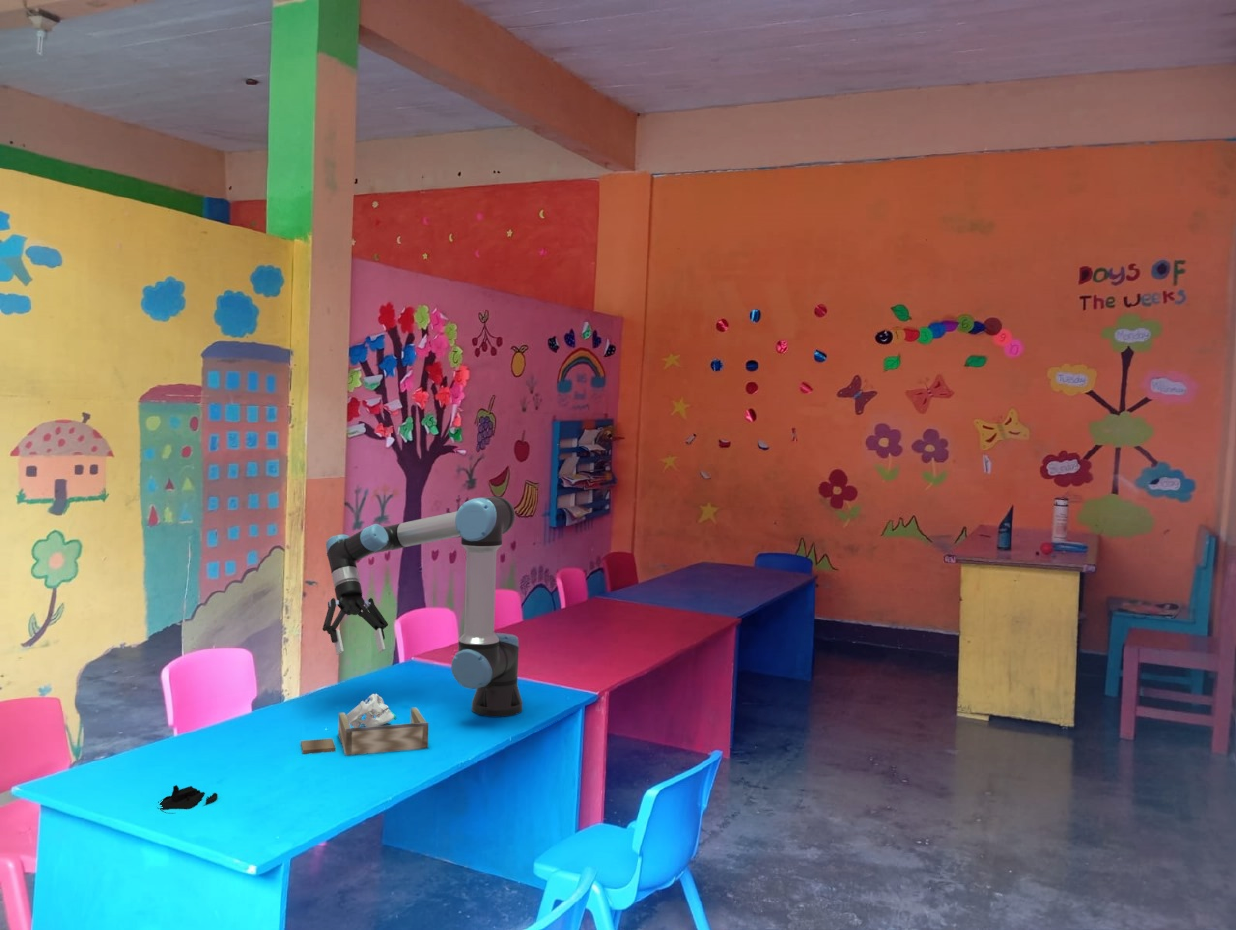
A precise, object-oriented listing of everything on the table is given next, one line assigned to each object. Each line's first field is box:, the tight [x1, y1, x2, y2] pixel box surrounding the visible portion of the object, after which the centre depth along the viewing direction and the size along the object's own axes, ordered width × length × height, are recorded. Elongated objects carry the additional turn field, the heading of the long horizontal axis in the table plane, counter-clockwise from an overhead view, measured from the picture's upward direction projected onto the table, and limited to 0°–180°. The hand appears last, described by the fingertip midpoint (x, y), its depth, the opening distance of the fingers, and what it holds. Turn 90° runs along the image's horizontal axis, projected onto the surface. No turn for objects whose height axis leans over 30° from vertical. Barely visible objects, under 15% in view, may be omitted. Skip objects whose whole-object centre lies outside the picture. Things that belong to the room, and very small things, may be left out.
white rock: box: [345, 692, 398, 728], centre depth 278 cm, size 12×9×10 cm
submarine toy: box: [157, 784, 218, 815], centre depth 219 cm, size 12×10×5 cm
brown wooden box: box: [337, 707, 429, 756], centre depth 265 cm, size 21×18×7 cm
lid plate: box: [300, 738, 336, 755], centre depth 258 cm, size 8×8×2 cm
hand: (361, 651), depth 286 cm, fingers open, 13 cm apart
